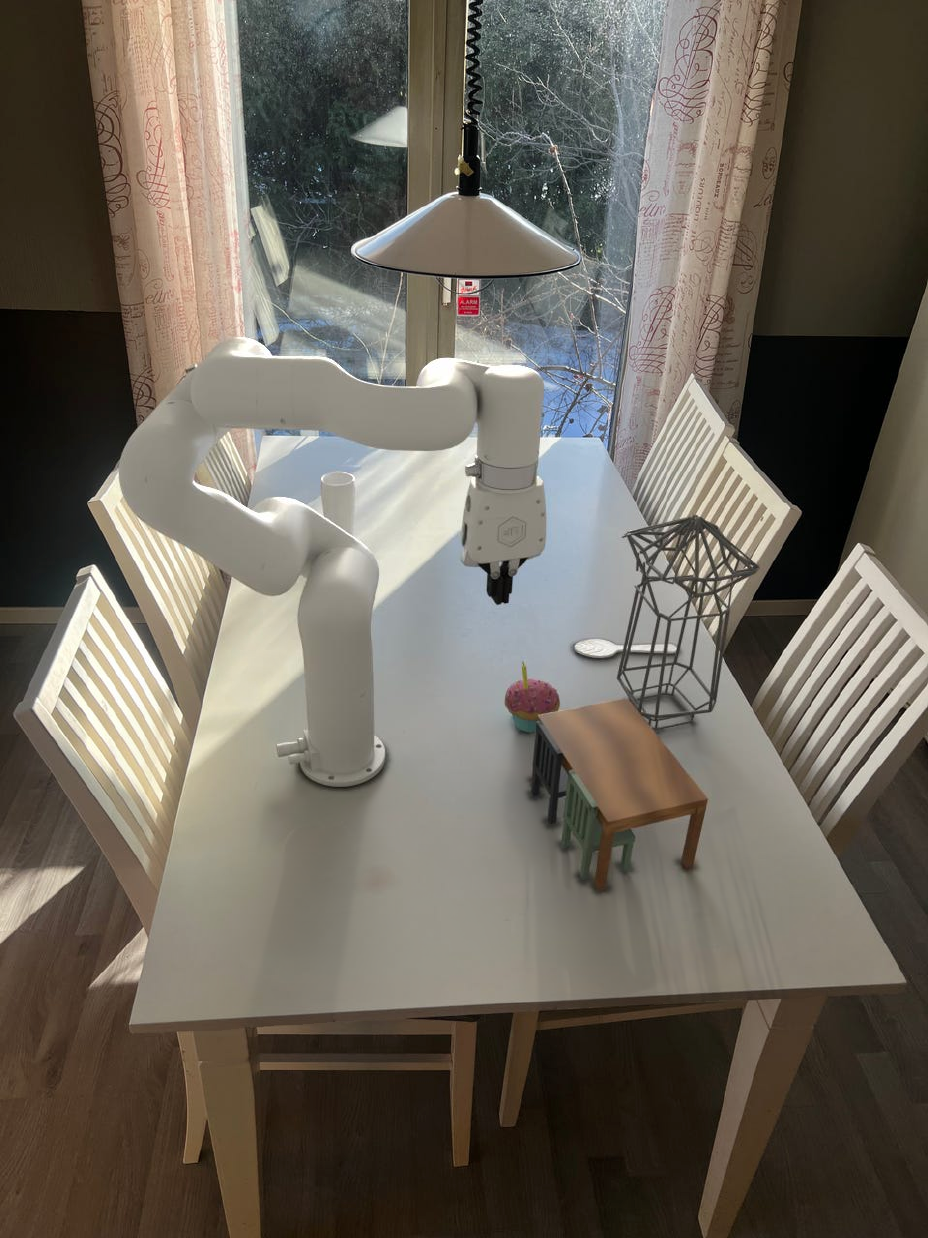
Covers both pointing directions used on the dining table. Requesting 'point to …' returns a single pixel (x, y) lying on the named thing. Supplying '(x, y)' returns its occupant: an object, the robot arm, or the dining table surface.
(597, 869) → the oak table
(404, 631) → the dining table surface
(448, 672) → the dining table surface
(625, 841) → the sage chair
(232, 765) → the dining table surface
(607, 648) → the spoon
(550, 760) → the charcoal chair
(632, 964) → the dining table surface
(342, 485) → the drinking glass
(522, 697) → the cupcake
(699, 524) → the geometric lantern
